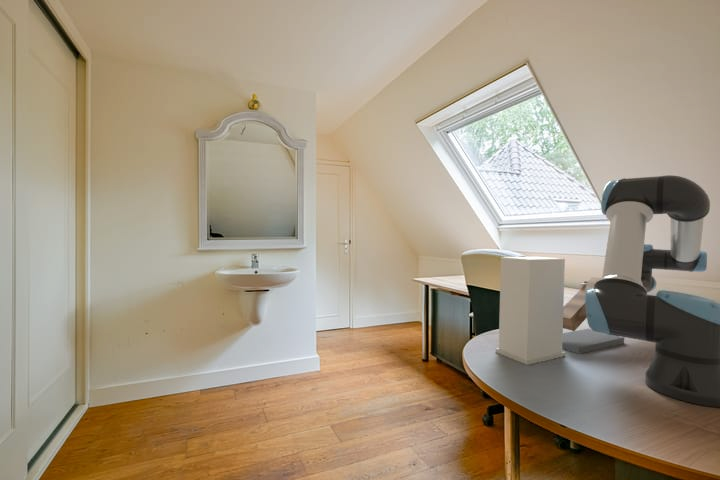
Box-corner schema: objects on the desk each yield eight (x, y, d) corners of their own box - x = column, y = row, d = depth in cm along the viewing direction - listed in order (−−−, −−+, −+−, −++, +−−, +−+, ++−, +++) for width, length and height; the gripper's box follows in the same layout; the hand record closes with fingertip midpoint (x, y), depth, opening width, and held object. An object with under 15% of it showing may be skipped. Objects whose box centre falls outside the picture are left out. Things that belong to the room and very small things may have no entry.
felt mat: (587, 333, 127) (587, 328, 127) (624, 343, 117) (624, 337, 117) (543, 342, 116) (543, 336, 116) (578, 353, 105) (579, 347, 105)
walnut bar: (595, 288, 123) (592, 277, 122) (611, 290, 119) (607, 279, 117) (559, 327, 114) (555, 315, 113) (574, 331, 110) (570, 318, 108)
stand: (532, 345, 113) (534, 256, 112) (565, 356, 103) (567, 258, 102) (495, 352, 105) (498, 257, 105) (527, 364, 95) (530, 259, 94)
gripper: (654, 299, 119) (618, 304, 109) (599, 291, 135) (563, 294, 125) (654, 278, 119) (618, 281, 109) (599, 272, 135) (564, 274, 125)
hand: (589, 288), depth 117 cm, fingers closed on walnut bar, 5 cm apart
